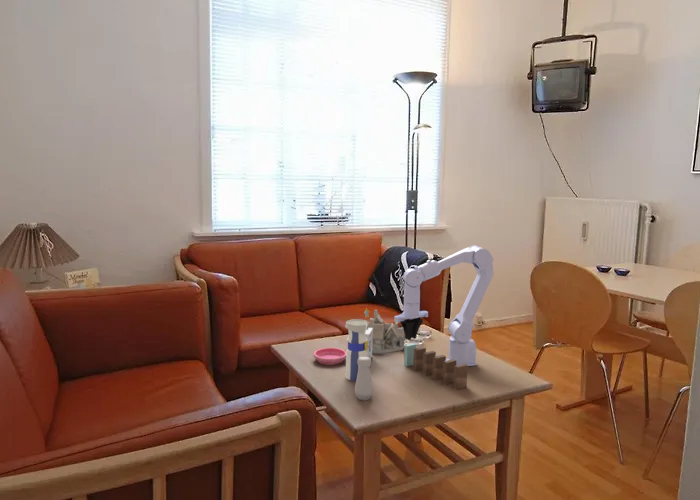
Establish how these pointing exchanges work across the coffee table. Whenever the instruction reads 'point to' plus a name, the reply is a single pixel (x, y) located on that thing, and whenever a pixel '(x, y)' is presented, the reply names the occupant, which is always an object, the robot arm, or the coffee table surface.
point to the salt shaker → (363, 379)
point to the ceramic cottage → (386, 335)
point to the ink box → (369, 341)
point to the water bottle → (356, 345)
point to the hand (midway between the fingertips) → (410, 338)
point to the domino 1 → (409, 354)
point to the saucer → (330, 356)
